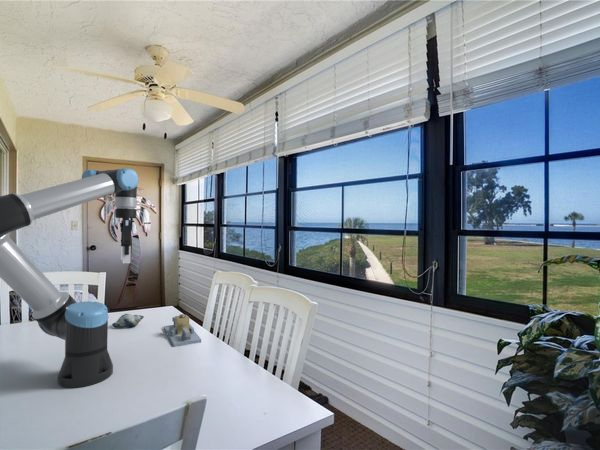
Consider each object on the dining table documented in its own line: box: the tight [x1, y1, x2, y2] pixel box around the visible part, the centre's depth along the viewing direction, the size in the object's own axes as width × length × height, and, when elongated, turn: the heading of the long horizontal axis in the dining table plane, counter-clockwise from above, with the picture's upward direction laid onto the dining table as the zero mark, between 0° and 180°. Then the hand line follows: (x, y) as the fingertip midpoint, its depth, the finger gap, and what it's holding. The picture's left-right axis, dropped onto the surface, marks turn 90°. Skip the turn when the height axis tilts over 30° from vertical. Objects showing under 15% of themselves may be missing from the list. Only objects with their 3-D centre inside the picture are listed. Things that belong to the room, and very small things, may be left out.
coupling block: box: [174, 313, 190, 335], centre depth 150 cm, size 5×5×8 cm
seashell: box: [111, 313, 145, 329], centre depth 160 cm, size 6×8×12 cm
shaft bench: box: [163, 316, 202, 348], centre depth 150 cm, size 26×11×5 cm, turn 30°
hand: (125, 261), depth 134 cm, fingers open, 13 cm apart
